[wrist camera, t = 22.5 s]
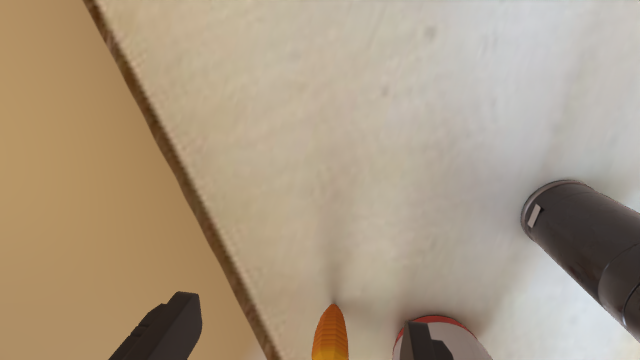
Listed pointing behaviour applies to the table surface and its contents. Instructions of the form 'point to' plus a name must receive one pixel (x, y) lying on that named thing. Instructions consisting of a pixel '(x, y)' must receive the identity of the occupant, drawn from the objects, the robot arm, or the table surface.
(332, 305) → the carrot
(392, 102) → the table surface
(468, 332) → the citrus juicer
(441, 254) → the table surface
